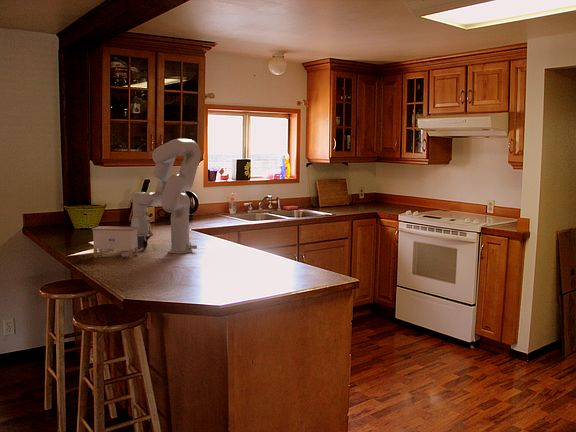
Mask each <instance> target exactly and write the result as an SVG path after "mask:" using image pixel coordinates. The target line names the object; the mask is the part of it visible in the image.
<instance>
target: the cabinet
mask: <svg viewBox="0 0 576 432" xmlns="http://www.w3.org/2000/svg"><path fill="white" fill-rule="evenodd" d="M137 229H138V227H131V226H117V225H116V226H113V225H112V226H111V225H109V226H107V225H106V226H104V225H101V226H100V225H99V226H96V227H93V228H91V231H92V236H93V237H92V238H93V258H98V250H99V256H102V255H104V250H128V251H130V257H129V259H134V256H135V257H137V256H138V255H139V252H138V242H137ZM134 248H135V254H133V249H134Z"/></svg>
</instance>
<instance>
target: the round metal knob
mask: <svg viewBox="0 0 576 432" xmlns="http://www.w3.org/2000/svg"><path fill="white" fill-rule="evenodd" d="M120 256H121V258H130V252H127V251H125V252H123V251H122V252H121V255H120Z"/></svg>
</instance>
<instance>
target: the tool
mask: <svg viewBox="0 0 576 432" xmlns="http://www.w3.org/2000/svg"><path fill="white" fill-rule="evenodd" d="M137 242H138V253H139V252H142V251H144V250H145V249H147V247H146V248H144V236H143V235H138V236H137ZM126 252H130V251H129V250H127V251H126ZM133 255H135V248H134V249H133Z"/></svg>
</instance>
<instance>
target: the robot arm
mask: <svg viewBox="0 0 576 432" xmlns="http://www.w3.org/2000/svg"><path fill="white" fill-rule="evenodd" d="M178 156H180V157H181V156H184V159H183V160H182V162H181V164H180V167H179V168H180V169H179V171H178V173H174V174H171V172H172V169H173V165H175V161H176V157H178ZM201 156H202V152H201V148H200V147H199V145H198V143H197V142H196V141H195V140H192V139H189V138H175V139H171V140H169V141H168V142H165V143H163V144H161V145H160V146H157V147H156V148H155V149H154V150H153V152H152V154H151V157H152V160H153V163H155V165H154V169H153V171H152V175H153V176H154V177H155V178H156V179H157V184H156V188H155V191H149V192H148V191H147V192H145V191H135V192H133V193H132V218H131V221H130V223H131V224H130V227H138V229H137V236H144V248H146V249H147V248H148V245H149V244H148V241H149V239H151V238H152V237H153V236H154V233H153V232H152V227H151V221H150V220H151V219H150V217H149V216H150V212H149V211H148V207H154V206H160V205H161V207H162V209H163V211H165V212H167V213H171V214H170V240H171V241H170V243H171V244H170V245H171V246H170V247H171V248H169V249H168V253H170V254H176V255H177V254H180V255H182V254H189V253H192V252H193V250H197V249H198V246H197V244H192V242H190V207H191V199H190V197H189V196H188V194H187V193H184V192H189V191H190V190H191V189H192V187H193V186H194V181H195V177H196V174H197V171H198V167H199V164H200V161H201V158H202V157H201ZM170 174H171V176H170Z"/></svg>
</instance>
